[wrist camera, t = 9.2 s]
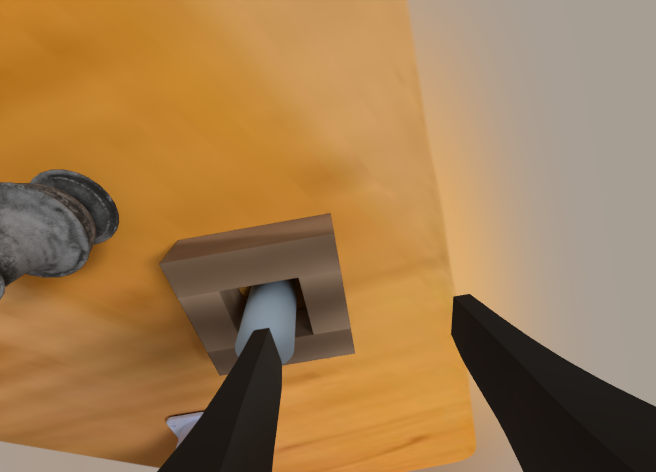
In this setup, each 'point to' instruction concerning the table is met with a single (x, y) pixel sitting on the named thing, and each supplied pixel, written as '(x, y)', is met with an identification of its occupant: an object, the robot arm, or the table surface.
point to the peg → (271, 315)
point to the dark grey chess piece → (52, 224)
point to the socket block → (258, 268)
